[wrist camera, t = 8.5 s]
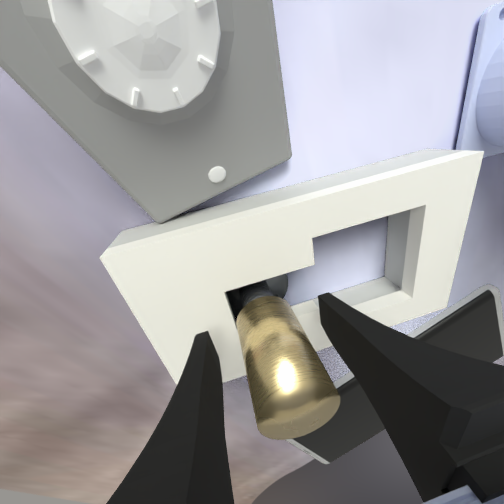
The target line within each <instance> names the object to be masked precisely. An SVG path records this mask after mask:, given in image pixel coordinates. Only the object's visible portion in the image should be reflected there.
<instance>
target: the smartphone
mask: <svg viewBox="0 0 504 504" xmlns="http://www.w3.org/2000/svg"><path fill="white" fill-rule="evenodd" d="M407 335H408V336H410V337H412V338H415V339H417V340H420V341H423V342H425V343H428V344H431V345H434V346H436V347H439V348H442V349H445V350H448V351H451V352H455V353H458V354H461V355H464V356H468V357H471V358H475V359H479V360H483V361H486V362H490V363H492V362H494V361H496V360H497V359H499V358H501V357H502V356H504V320H503V313H502V305H501V298H500V291H499V289H498V288H497V287H495V286H492V285H490V284H486V285H483V286H482V287H480V288H479V289H477V290H475V291H474V292H472V293H471V294H469V295H468V296H466V297H465V298H463V299H462V300H460V301H458V302H457V303H455V304H454V305H452V306H451V307H449V308H448V309H446V310H444V311H443V312H441V313H440V314H438V315H437V316H435V317H434V318H432V319H431V320H429V321H427V322H426V323H424V324H423V325H421V326H420V327H418V328H417V329H415V330H413V331H412V332H410V333H409V334H407ZM333 384H334V386H335V387H336V389H337V391H338V393H339V395H340V405H339V408H338V410H337V411H336V413H335V414H334V416H333V417H332V418H331V419H330V420H329V421H328V422H327V423H325V424H324V425H323V426H321V427H320V428H318V429H316V430H315V431H313V432H311V433H308V434H306V435H303V436H300V437H297V438H293V439H285V441H287V442H289V443H290V444H292V445H294V446H295V447H297V448H299V449H300V450H302V451H304V452H305V453H307V454H308V455H310V456H312V457H313V458H315V459H317V460H318V461H320V462H322V463H324V464H329V463H331V462H332V461H334V460H336V459H337V458H339V457H340V456H342V455H344V454H345V453H347V452H349V451H350V450H352V449H353V448H355V447H357V446H358V445H360V444H362V443H363V442H365V441H366V440H368V439H370V438H371V437H373V436H374V435H376V434H378V433H379V432H381V431H382V430H384V429H385V427H384V425H383V423H382V422H381V420H380V418H379V416H378V414H377V413H376V411H375V409H374V407H373V406H372V404H371V402H370V400H369V399H368V397H367V395H366V393H365V392H364V390H363V388H362V387H361V385H360V384H359V382H358V381H357V379H356V378H355V376H354V375H353V373H352V372H351V371H350V372H349V373H347V374H345V375H344V376H342V377H341V378H339V379H338V380H336V381H335V382H333Z"/></svg>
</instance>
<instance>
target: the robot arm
mask: <svg viewBox="0 0 504 504" xmlns="http://www.w3.org/2000/svg"><path fill="white" fill-rule="evenodd" d="M456 150H471V151H484V155H483V158H486V157H489V156H493V155H497V154H500V153H504V2H501V3H496V4H494V5H492V6H490V7H488V8H487V9H486V10H485V11H484V12H483V14H482V15H481V18H480V22H479V27H478V33H477V38H476V43H475V49H474V54H473V59H472V65H471V70H470V75H469V81H468V86H467V91H466V97H465V102H464V107H463V113H462V118H461V124H460V129H459V134H458V140H457V145H456ZM318 302H319V312H320V323H321V325H322V327H323V329H324V331H325V333H326V335H327V337H328V338H329V340H330V342H331V343H332V345H333V346H334V348H335V349H336V351H337V352H338V353H339V355H340V356H341V358H342V359H343V361H344V362H345V363H346V365H347V366H348V368H349V369H350V371H351V372H352V373H353V375H354V376H355V378H356V379H357V381H358V382H359V384H360V385H361V387H362V388H363V390H364V392H365V393H366V395H367V397H368V399H369V400H370V402H371V404H372V406H373V407H374V409H375V411H376V413H377V414H378V416H379V418H380V420H381V422H382V423H383V425H384V427H385V429H386V431H387V432H388V434H389V436H390V438H391V440H392V441H393V444H394V445H395V447H396V449H397V451H398V453H399V455H400V457H401V458H402V460H403V462H404V464H405V466H406V468H407V470H408V472H409V474H410V476H411V478H412V480H413V482H414V484H415V486H416V488H417V490H418V492H419V494H420V496H421V498H422V500H423V502H424V503H422V504H504V366H502V365H498V364H494V363H490V362H486V361H483V360H479V359H475V358H471V357H468V356H464V355H461V354H458V353H455V352H451V351H448V350H445V349H442V348H439V347H436V346H434V345H431V344H428V343H425V342H423V341H420V340H417V339H415V338H412V337H410V336H408V335H405V334H403V333H401V332H398V331H396V330H394V329H392V328H390V327H388V326H386V325H384V324H382V323H380V322H378V321H376V320H374V319H372V318H370V317H368V316H367V315H365V314H363V313H361V312H360V311H358V310H356V309H355V308H353V307H351V306H350V305H348V304H346V303H345V302H343V301H342V300H340V299H338V298H337V297H335V296H334V295H332V294H330V293H325V294H322V295H319V296H318ZM106 504H234V499H233V492H232V485H231V478H230V470H229V463H228V455H227V448H226V440H225V428H224V407H223V384H222V373H221V366H220V360H219V356H218V353H217V351H216V349H215V346H214V344H213V342H212V339H211V337H210V334H209V332H208V331H205V332H202V333H199V334H196V335H195V337H194V341H193V344H192V347H191V350H190V353H189V356H188V359H187V362H186V364H185V367H184V370H183V372H182V375H181V377H180V380H179V382H178V384H177V387H176V389H175V391H174V394H173V396H172V398H171V400H170V402H169V404H168V406H167V408H166V410H165V412H164V414H163V416H162V418H161V420H160V422H159V423H158V425H157V427H156V429H155V430H154V432H153V434H152V436H151V438H150V439H149V441H148V443H147V444H146V446H145V447H144V449H143V451H142V452H141V454H140V455H139V457H138V458H137V460H136V461H135V463H134V465H133V466H132V468H131V469H130V471H129V472H128V474H127V475H126V477H125V478H124V480H123V481H122V483H121V484H120V486H119V487H118V488H117V490H116V491H115V492H114V494H113V495H112V497H111V498H110V499H109V501H108V502H107V503H106Z"/></svg>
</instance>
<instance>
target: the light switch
mask: <svg viewBox="0 0 504 504" xmlns="http://www.w3.org/2000/svg"><path fill="white" fill-rule="evenodd" d="M0 66H1V67H2V68H3V69H4V70H5V71H6V72H7V73H8V74H9V75H10V76H11V77H12V78H13V79H14V80H15V81H16V82H17V83H18V84H19V85H20V86H21V87H22V88H23V89H24V90H25V91H26V92H27V93H28V94H29V95H30V96H31V97H32V98H33V99H34V100H35V101H36V102H37V103H38V104H39V105H40V106H41V107H42V108H43V109H44V110H45V111H46V112H47V113H48V114H49V115H50V116H51V117H52V118H53V119H54V120H55V121H56V122H57V123H58V124H59V125H60V126H61V127H62V128H63V129H64V130H65V131H66V132H67V133H68V134H69V135H70V136H71V137H72V138H73V139H74V140H75V141H76V142H77V143H78V144H79V145H80V146H81V147H82V148H83V149H84V150H85V151H86V152H87V153H88V154H89V155H90V156H91V157H92V158H93V159H94V160H95V161H96V162H97V163H98V164H99V165H100V166H101V167H102V168H103V169H104V170H105V171H106V172H107V173H108V174H109V175H110V176H111V177H112V178H113V179H114V180H115V181H116V182H117V183H118V184H119V185H120V186H121V187H122V188H123V189H124V190H125V191H126V192H127V193H128V194H129V195H130V196H131V197H132V198H133V199H134V200H135V201H136V202H137V203H138V204H139V205H140V206H141V207H142V208H143V209H144V210H145V211H146V212H147V213H148V214H149V215H150V216H151V217H152V218H153V219H154V220H155V221H156V222H157V223H163V222H165V221H167V220H169V219H171V218H173V217H175V216H177V215H179V214H181V213H183V212H185V211H187V210H189V209H191V208H193V207H195V206H197V205H199V204H201V203H203V202H205V201H207V200H209V199H211V198H213V197H215V196H217V195H219V194H221V193H223V192H225V191H227V190H229V189H231V188H233V187H235V186H237V185H239V184H241V183H243V182H245V181H247V180H249V179H251V178H253V177H255V176H257V175H259V174H261V173H263V172H265V171H267V170H269V169H271V168H273V167H275V166H277V165H279V164H281V163H283V162H285V161H287V160H289V159H290V158H291V156H292V152H291V144H290V136H289V128H288V120H287V112H286V105H285V97H284V89H283V81H282V73H281V65H280V58H279V50H278V42H277V34H276V26H275V18H274V10H273V3H272V0H0Z"/></svg>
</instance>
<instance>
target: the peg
mask: <svg viewBox="0 0 504 504" xmlns="http://www.w3.org/2000/svg"><path fill="white" fill-rule="evenodd" d="M287 287H288V279H287V275H286V273H285V274H282V275H279V276H276V277H272V278H269V279H266V280H262V281H259V282H256V283H252V284H249V285H246V286H243V287H239V288H236V289H233V290H229V291H226V294H227V297H228V300H229V303H230V306H231V309H232V312H233V315H236V316H238V317H237V321H236V325H237V330H238V335H239V340H240V345H241V350H242V355H243V360H244V364H245V369H246V374H247V379H248V384H249V389H250V393H251V398H252V403H253V408H254V413H255V418H256V423H257V427H258V430H259V431H260V433H261V434H262V435H264V436H265V437H268V438H271V439H277V440H285V439H293V438H297V437H300V436H303V435H306V434H308V433H311V432H313V431H315V430H316V429H318V428H320V427H321V426H323V425H324V424H325V423H327V422H328V421H329V420H330V419H331V418H332V417H333V416H334V414H335V413H336V411H337V410H338V408H339V405H340V395H339V393H338V391H337V389H336V387H335V386H334V384H333V382H332V380H331V378H330V377H329V375H328V373H327V371H326V369H325V368H324V366H323V364H322V362H321V360H320V359H319V357H318V355H317V353H316V351H315V349H314V348H313V346H312V344H311V342H310V340H309V339H308V337H307V335H306V333H305V331H304V330H303V328H302V326H301V324H300V322H299V321H298V319H297V317H296V315H295V313H294V312H293V310H292V308H291V306H290V305H289V303H288V302H287V301H286V300H284V299H283V298H284V296H285V294H286V291H287Z"/></svg>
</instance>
